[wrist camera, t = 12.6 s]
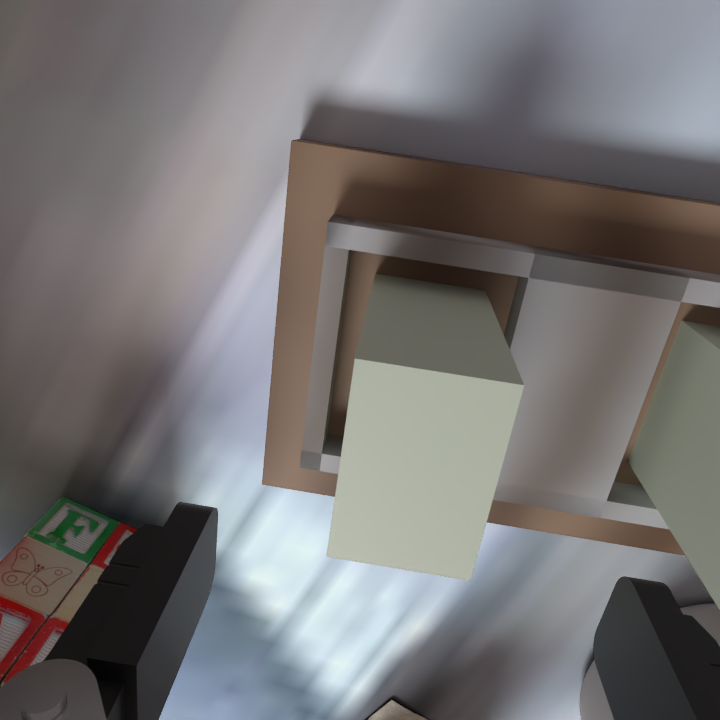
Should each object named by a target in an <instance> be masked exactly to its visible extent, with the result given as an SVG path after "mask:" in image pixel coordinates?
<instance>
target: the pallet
mask: <svg viewBox="0 0 720 720" xmlns="http://www.w3.org/2000/svg"><path fill="white" fill-rule="evenodd" d="M375 274H381V275H388V276H394V277H401V278H407V279H414V280H420V281H427V282H433V283H440V284H446V285H453V286H459V287H465V288H472V289H478V290H485V291H486V293H487V296H488V298H489V301H490V303H491V305H492V308H493V310H494V313H495V315H496V318H497V320H498V323H499V325H500V327H501V330H502V332H503V335H504V337H505V340H506V342H507V344H508V347H509V349H510V352H511V354H512V357H513V359H514V362H515V364H516V366H517V369H518V371H519V374H520V376H521V379H522V381H523V384H524V388H523V392H522V395H521V399H520V403H519V406H518V410H517V414H516V417H515V421H514V425H513V428H512V432H511V435H510V439H509V443H508V446H507V450H506V454H505V457H504V461H503V464H502V468H501V472H500V475H499V479H498V483H497V486H496V490H495V494H494V497H493V501H492V504H491V508H490V512H489V515H488V519H487V522H489V523H495V524H501V525H507V526H513V527H519V528H525V529H531V530H537V531H542V532H548V533H554V534H560V535H566V536H572V537H578V538H584V539H590V540H596V541H602V542H608V543H614V544H620V545H626V546H632V547H638V548H644V549H650V550H656V551H662V552H667V553H673V554H679V555H685V554H684V552H683V550H682V549H681V547H680V545H679V544H678V542H677V541H676V539H675V537H674V536H673V534H672V533H671V531H670V529H669V528H668V526H667V524H666V523H665V521H664V520H663V518H662V516H661V515H660V513H659V511H658V510H657V508H656V507H655V505H654V503H653V502H652V500H651V499H650V497H649V495H648V494H647V492H646V490H645V489H644V487H643V486H642V484H641V482H640V481H639V479H638V478H637V476H636V474H635V473H634V471H633V469H632V468H631V466H630V465H629V463H628V460H629V457H630V454H631V452H632V449H633V446H634V444H635V441H636V439H637V436H638V433H639V431H640V428H641V425H642V423H643V420H644V418H645V415H646V412H647V410H648V407H649V404H650V402H651V399H652V397H653V394H654V391H655V389H656V386H657V383H658V381H659V378H660V376H661V373H662V370H663V368H664V365H665V362H666V360H667V357H668V355H669V352H670V349H671V347H672V344H673V341H674V339H675V336H676V334H677V331H678V328H679V326H680V323H681V320H682V321H688V322H694V323H701V324H707V325H713V326H720V203H715V202H709V201H702V200H696V199H689V198H683V197H676V196H670V195H663V194H656V193H650V192H643V191H637V190H630V189H624V188H617V187H611V186H604V185H597V184H591V183H584V182H578V181H571V180H565V179H558V178H552V177H545V176H538V175H532V174H525V173H519V172H512V171H506V170H499V169H493V168H486V167H480V166H473V165H466V164H460V163H453V162H447V161H440V160H434V159H427V158H421V157H414V156H407V155H401V154H394V153H388V152H381V151H375V150H368V149H362V148H355V147H348V146H342V145H335V144H329V143H322V142H316V141H309V140H303V139H297V140H292V141H291V151H290V163H289V175H288V186H287V198H286V210H285V222H284V233H283V245H282V257H281V268H280V280H279V292H278V304H277V315H276V327H275V339H274V350H273V362H272V374H271V386H270V397H269V409H268V421H267V432H266V444H265V456H264V468H263V479H262V484H263V485H269V486H275V487H281V488H286V489H292V490H298V491H304V492H310V493H316V494H322V495H328V496H334V497H335V493H336V486H337V479H338V472H339V465H340V458H341V451H342V444H343V437H344V430H345V423H346V416H347V409H348V402H349V395H350V388H351V381H352V374H353V367H354V360H355V356H356V351H357V347H358V343H359V339H360V335H361V331H362V327H363V323H364V319H365V315H366V311H367V307H368V302H369V298H370V294H371V290H372V286H373V282H374V278H375ZM685 556H686V555H685Z"/></svg>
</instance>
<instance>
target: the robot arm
mask: <svg viewBox="0 0 720 720" xmlns="http://www.w3.org/2000/svg"><path fill="white" fill-rule="evenodd" d="M217 524H218V511H217V508H214V507H207V506H201V505H195V504H189V503H183V502H179V503H178V504H177V505H176V506H175V508H174V510H173V511H172V513H171V515H170V517H169V518H168V520H167V522H166V523H165V525H164V527H161V526H155V525H149V524H145V525H144V526H143V527H141V528H140V529H139V530H137V531H136V532H134V533H133V534H132V535H130V536H129V537H128V538H126V539H125V540H124V541H123V542H122V543H121V545H120V547H119V548H118V550H117V551H116V553H115V554H114V556H113V557H112V559H111V560H110V562H109V565H108V566H106V568H105V569H104V571H103V572H102V574H101V575H100V577H99V578H98V581H97V584H94V586H93V587H92V589H91V590H90V592H89V593H88V595H87V597H86V598H85V600H84V601H83V603H82V604H81V606H80V607H79V609H78V610H77V612H76V613H75V615H74V616H73V618H72V619H71V621H70V622H69V624H68V625H67V627H66V628H65V630H64V631H63V633H62V634H61V636H60V637H59V639H58V640H57V642H56V643H55V645H54V647H53V648H52V650H51V651H50V653H49V654H48V655H47V656H46V658H45V659H44V660H43V661H42V662H39V663H36V664H34V665H32V666H29V667H27V668H25V669H24V670H22V671H20V672H19V673H17V674H16V675H14V676H13V677H12V678H10V679H9V680H8V681H7V682H6V683H5V684H4V685H3V686H2V687H1V688H0V720H159V717H160V715H161V712H162V710H163V707H164V705H165V702H166V700H167V698H168V695H169V693H170V690H171V688H172V685H173V683H174V680H175V678H176V676H177V673H178V671H179V668H180V666H181V663H182V661H183V658H184V656H185V654H186V651H187V649H188V646H189V644H190V641H191V639H192V636H193V634H194V632H195V629H196V627H197V624H198V622H199V619H200V617H201V614H202V612H203V609H204V607H205V605H206V602H207V600H208V597H209V594H210V591H211V587H212V583H213V578H214V573H215V562H216V543H217ZM594 660H595V664H596V668H597V671H598V674H599V677H600V680H601V683H602V686H603V689H604V692H605V694H606V697H607V700H608V703H609V706H610V709H611V712H612V715H613V718H614V720H720V646H719V645H718V643H717V641H716V640H715V639H714V638H713V637H712V636H711V635H710V634H709V633H708V632H707V631H706V630H705V629H704V628H703V627H702V626H701V625H700V623H699V622H698V621H697V620H696V619H695V618H694V617H693V616H691V615H685V614H683V613H682V611H681V610H680V608H679V606H678V604H677V602H676V600H675V599H674V597H673V595H672V593H671V591H670V590H669V588H668V587H667V586H666V585H665V584H664V583H661V582H655V581H649V580H643V579H637V578H631V577H621V578H620V579H619V580H618V581H617V583H616V585H615V587H614V590H613V592H612V594H611V597H610V599H609V601H608V604H607V606H606V608H605V611H604V613H603V615H602V618H601V620H600V623H599V625H598V627H597V630H596V633H595V637H594Z"/></svg>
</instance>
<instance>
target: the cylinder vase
mask: <svg viewBox="0 0 720 720" xmlns="http://www.w3.org/2000/svg"><path fill="white" fill-rule="evenodd" d="M680 610H681V611H682V613H683V614H685V615H691V616H693V617H694V618H695V619H696V620H697V621H698V622H699V623H700V625H701V626H702V627H703V628H704V629H705V630H706V631H707V632H708V633H709V634H710V635H711V636H712V637H713V638H714V639H715V640H716V641H717V643H718V645H719V646H720V610H719V608H718V607H717V605H716V604H715V603H708V604H699V605H692V606H686V607H681V608H680ZM580 715H581V720H614V718H613V715H612V712H611V709H610V706H609V703H608V700H607V697H606V694H605V692H604V689H603V686H602V683H601V680H600V677H599V674H598V671H597V668H596V664H595V660H594V661H593V662H592V664H591V666H590V667H589V669H588V671H587V673H586V676H585V678H584V681H583V684H582V688H581V693H580Z"/></svg>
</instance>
